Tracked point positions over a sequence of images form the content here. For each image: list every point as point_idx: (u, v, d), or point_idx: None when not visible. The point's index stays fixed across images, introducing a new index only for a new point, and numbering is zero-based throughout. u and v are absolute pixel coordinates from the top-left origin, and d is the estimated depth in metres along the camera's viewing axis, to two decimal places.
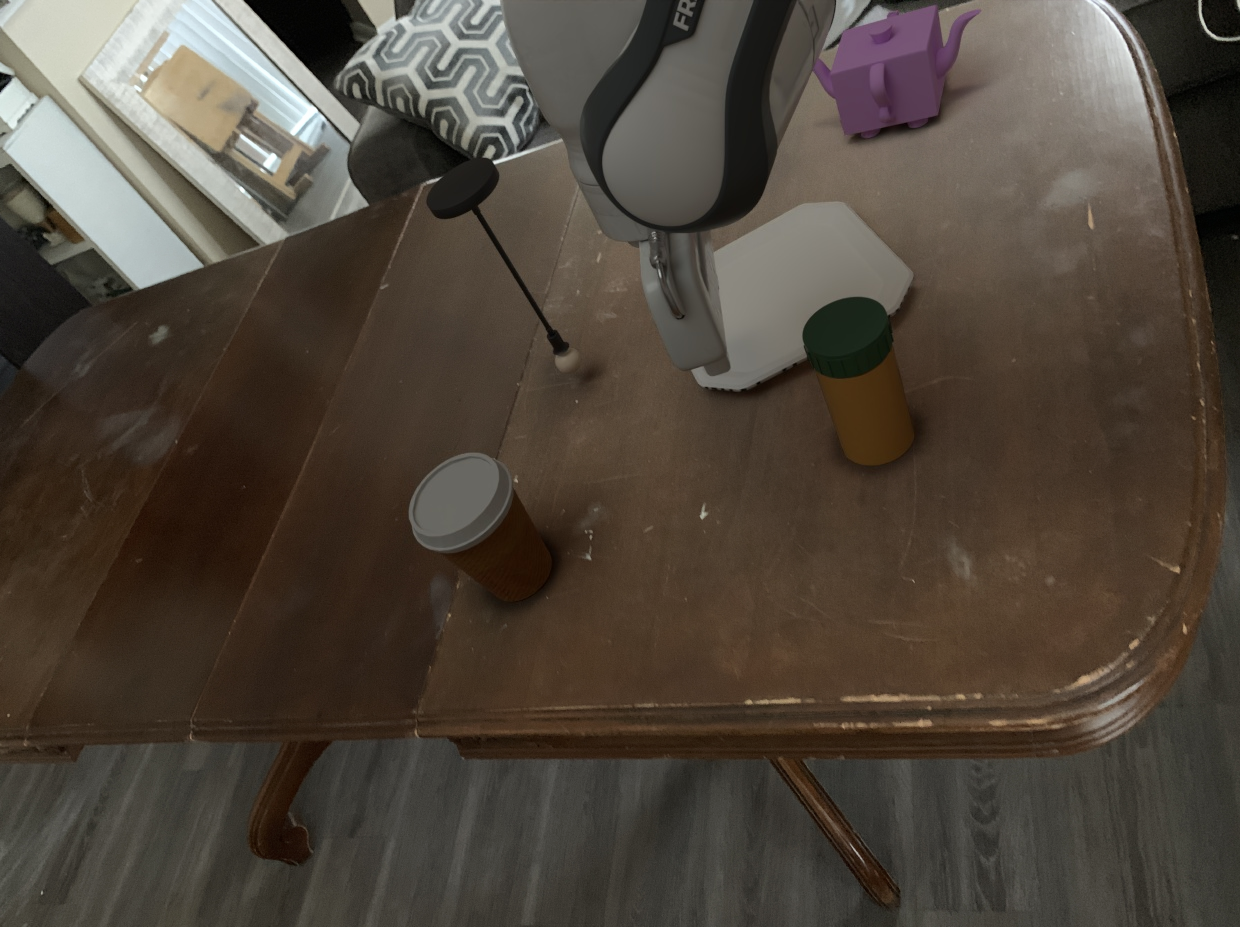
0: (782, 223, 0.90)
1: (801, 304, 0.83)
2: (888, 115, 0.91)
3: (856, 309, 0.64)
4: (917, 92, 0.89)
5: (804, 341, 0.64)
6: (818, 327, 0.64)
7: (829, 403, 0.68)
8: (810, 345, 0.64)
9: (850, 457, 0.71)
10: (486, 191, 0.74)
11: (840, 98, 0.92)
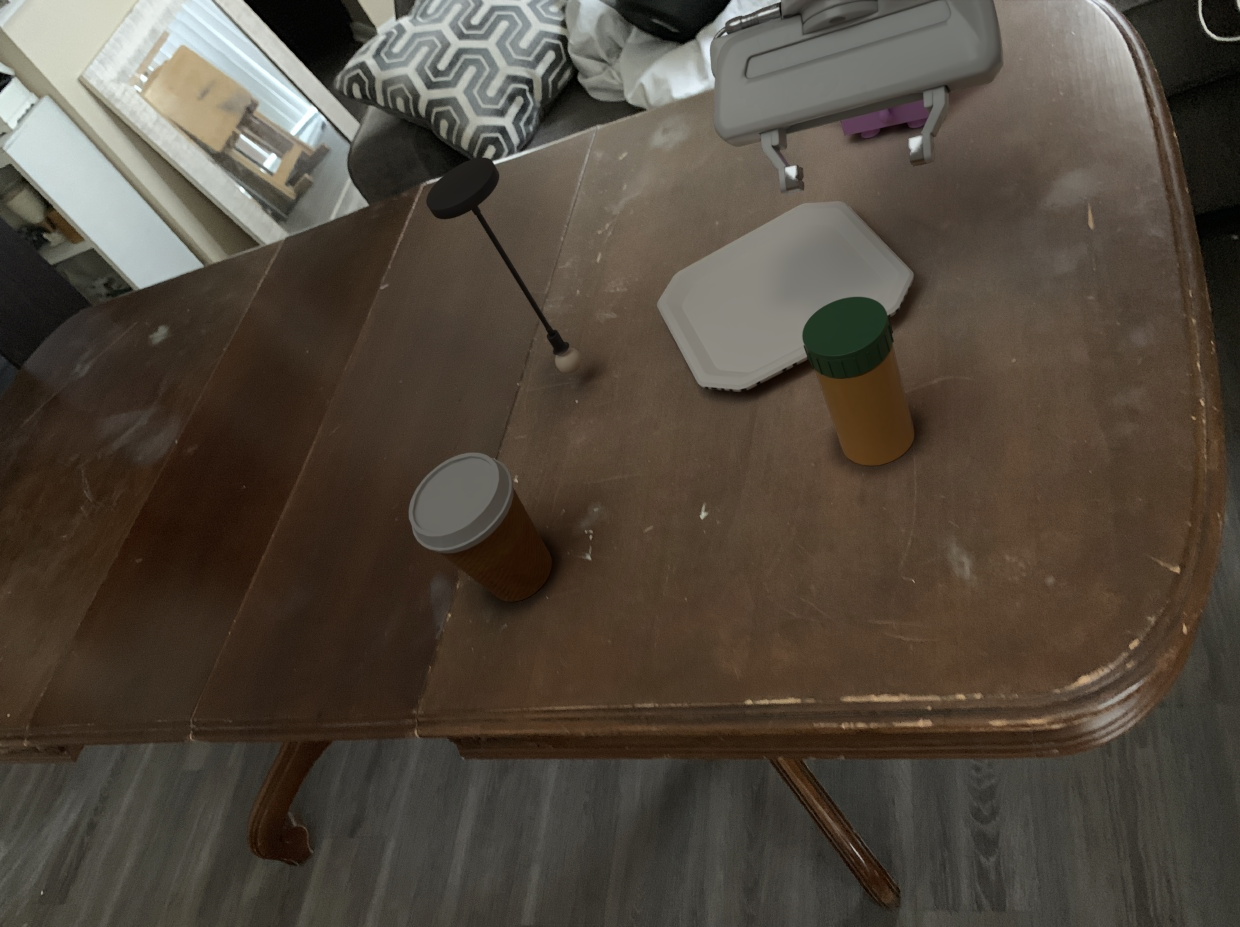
0: (782, 223, 0.90)
1: (801, 304, 0.83)
2: (888, 115, 0.91)
3: (856, 309, 0.64)
4: None
5: (804, 341, 0.64)
6: (818, 327, 0.64)
7: (829, 403, 0.68)
8: (810, 345, 0.64)
9: (850, 457, 0.71)
10: (486, 191, 0.74)
11: None
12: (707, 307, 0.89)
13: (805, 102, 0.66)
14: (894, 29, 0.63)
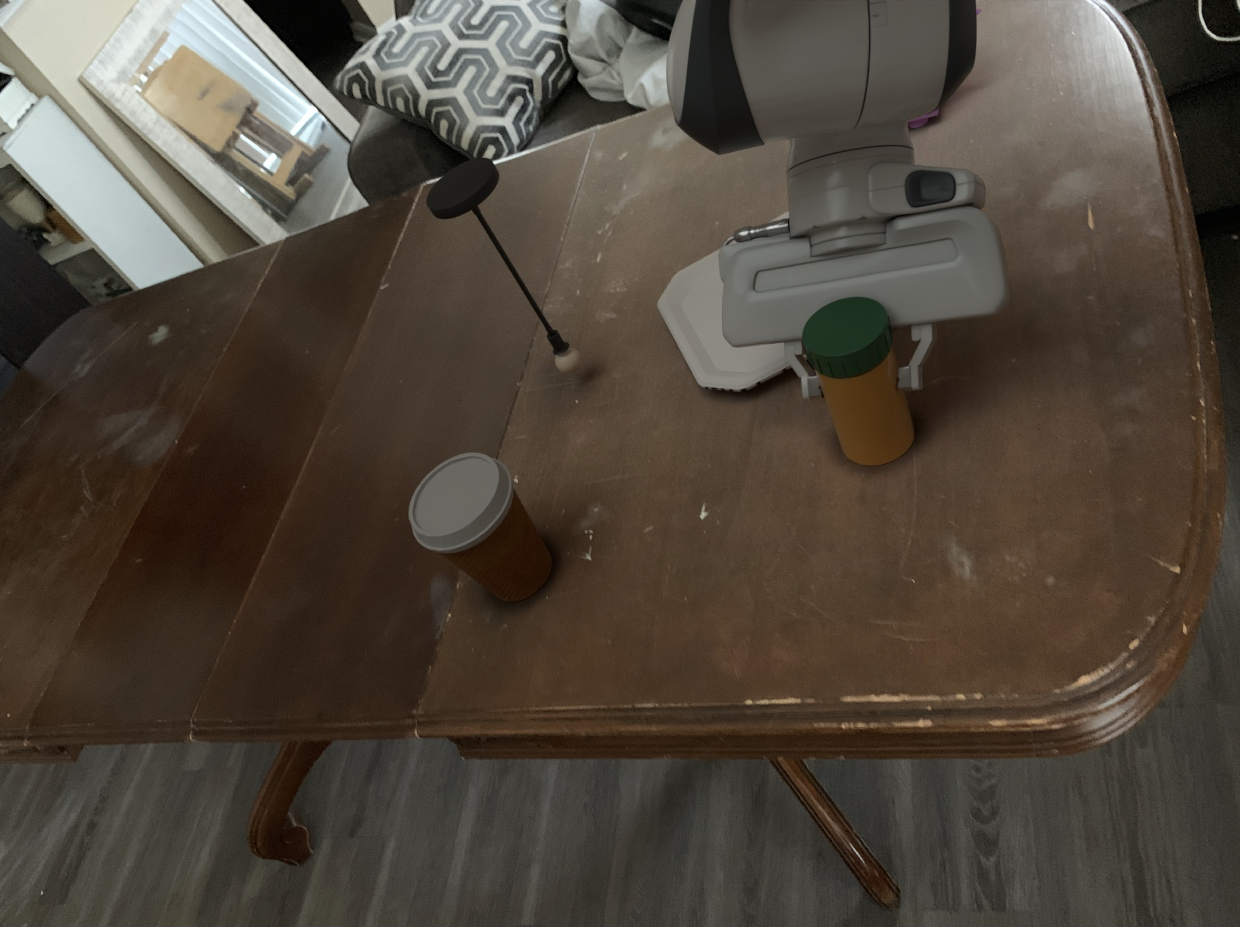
0: None
1: None
2: None
3: (856, 309, 0.64)
4: None
5: (804, 341, 0.64)
6: (818, 327, 0.64)
7: (828, 403, 0.68)
8: (810, 345, 0.64)
9: (850, 457, 0.71)
10: (486, 191, 0.74)
11: None
12: (707, 307, 0.89)
13: None
14: (901, 262, 0.63)
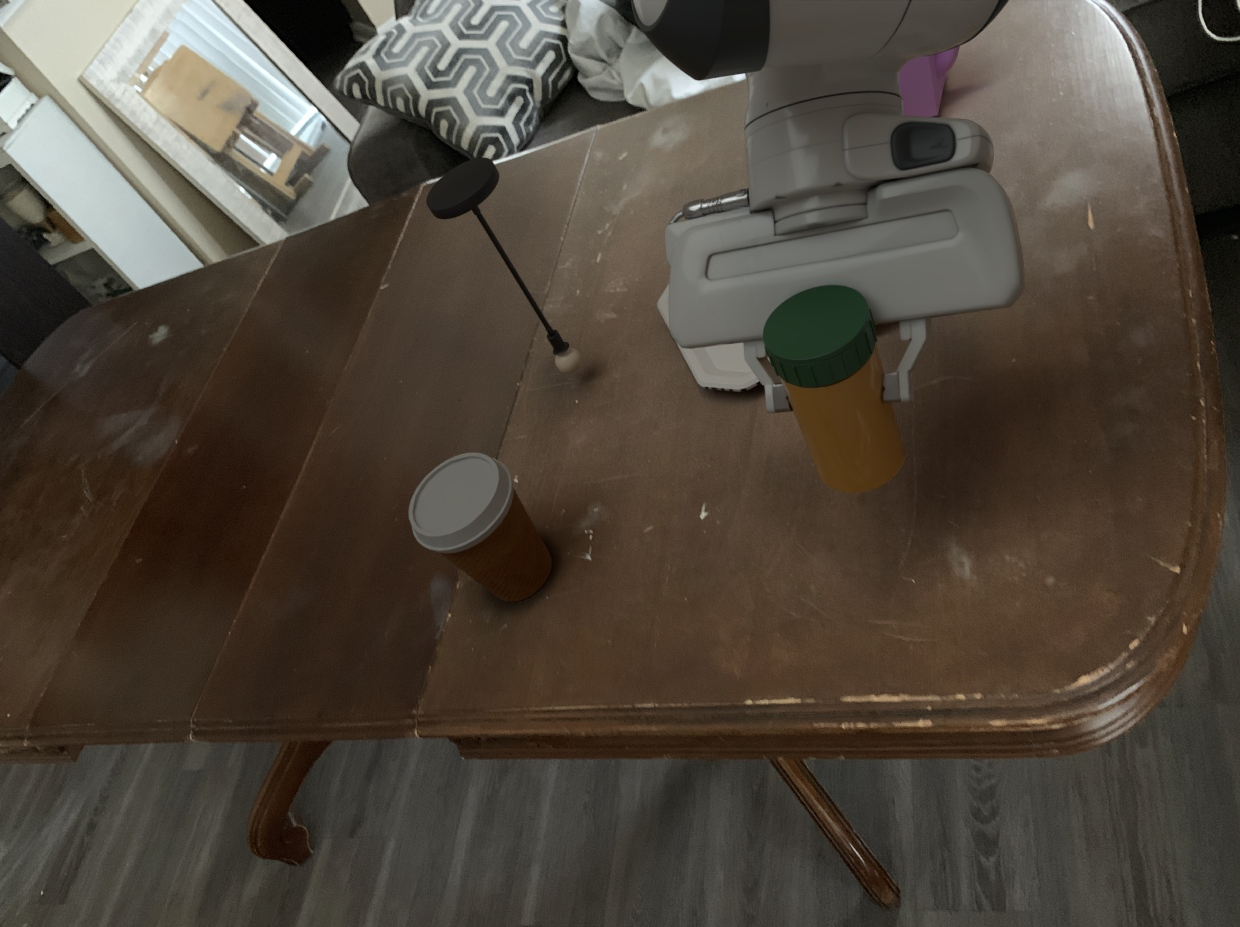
0: None
1: None
2: None
3: (830, 300, 0.51)
4: (917, 92, 0.89)
5: (765, 341, 0.51)
6: (782, 323, 0.51)
7: (798, 417, 0.54)
8: (772, 346, 0.51)
9: (827, 482, 0.58)
10: (486, 191, 0.74)
11: None
12: None
13: None
14: (887, 240, 0.50)
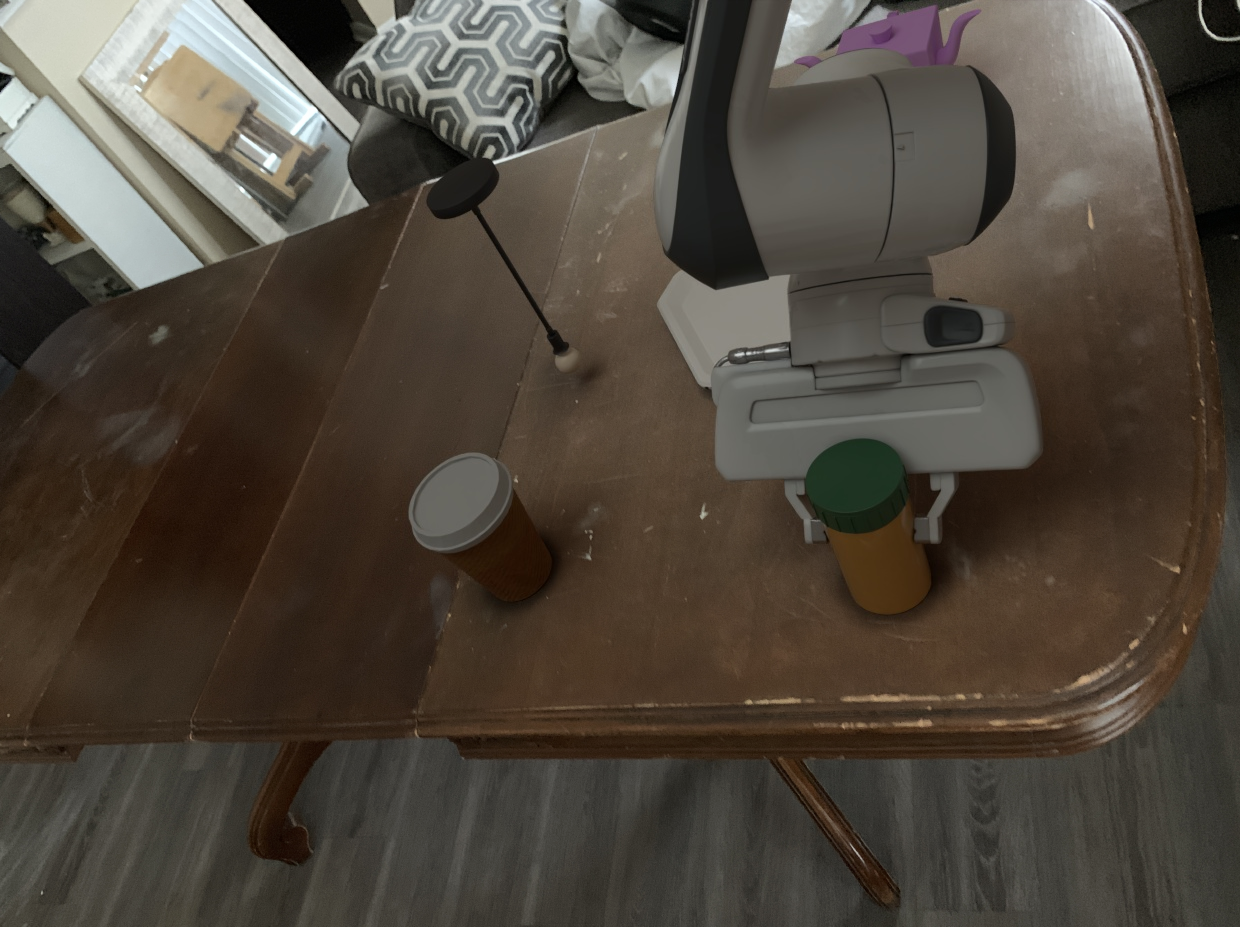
0: None
1: None
2: None
3: (867, 454, 0.56)
4: None
5: (807, 490, 0.56)
6: (823, 473, 0.56)
7: (835, 551, 0.60)
8: (814, 496, 0.56)
9: (859, 603, 0.64)
10: (486, 191, 0.74)
11: None
12: (707, 307, 0.89)
13: None
14: (919, 402, 0.55)
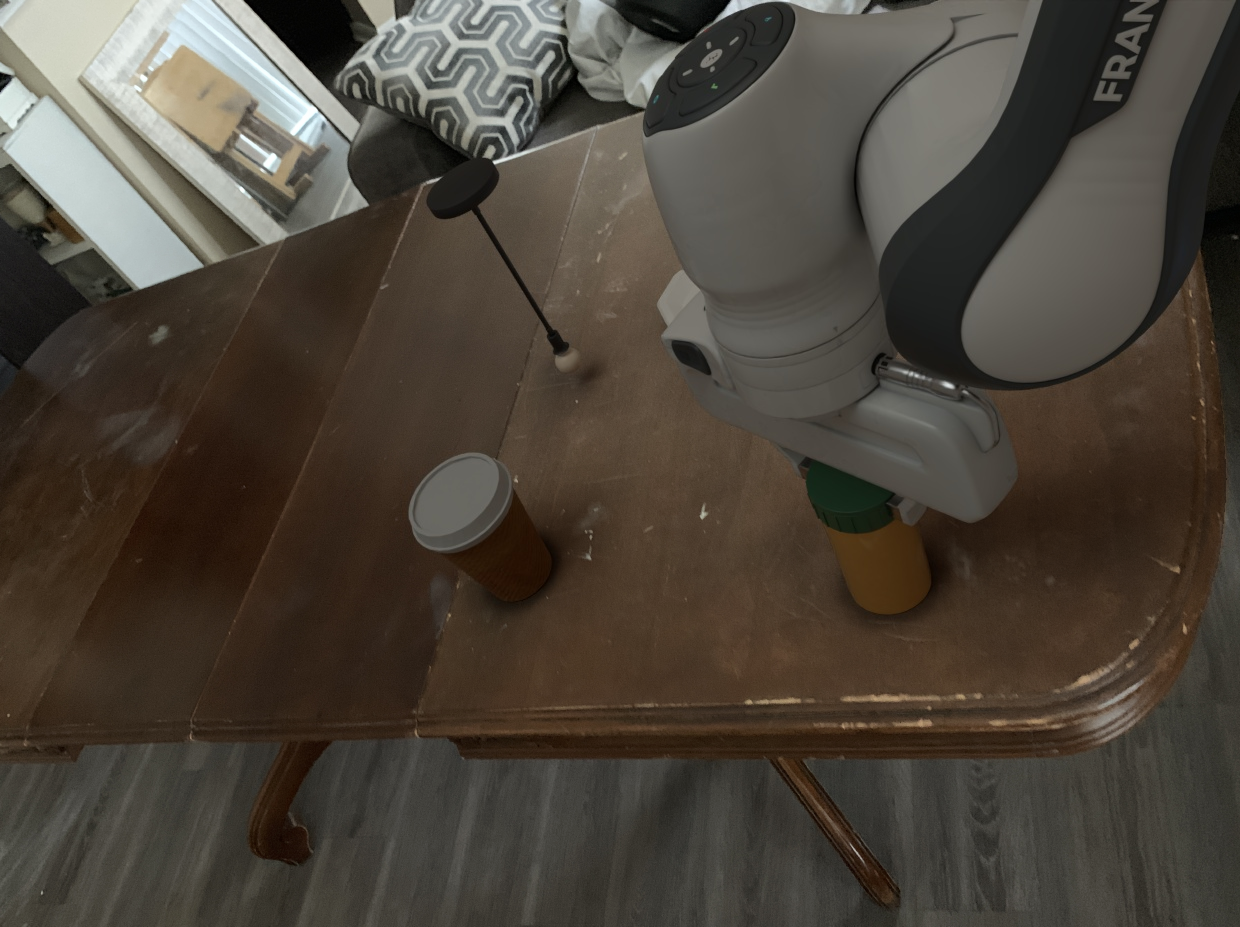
0: None
1: None
2: None
3: None
4: None
5: (808, 490, 0.56)
6: (824, 473, 0.56)
7: (835, 551, 0.60)
8: (815, 495, 0.56)
9: (859, 603, 0.64)
10: (486, 191, 0.74)
11: None
12: None
13: None
14: None
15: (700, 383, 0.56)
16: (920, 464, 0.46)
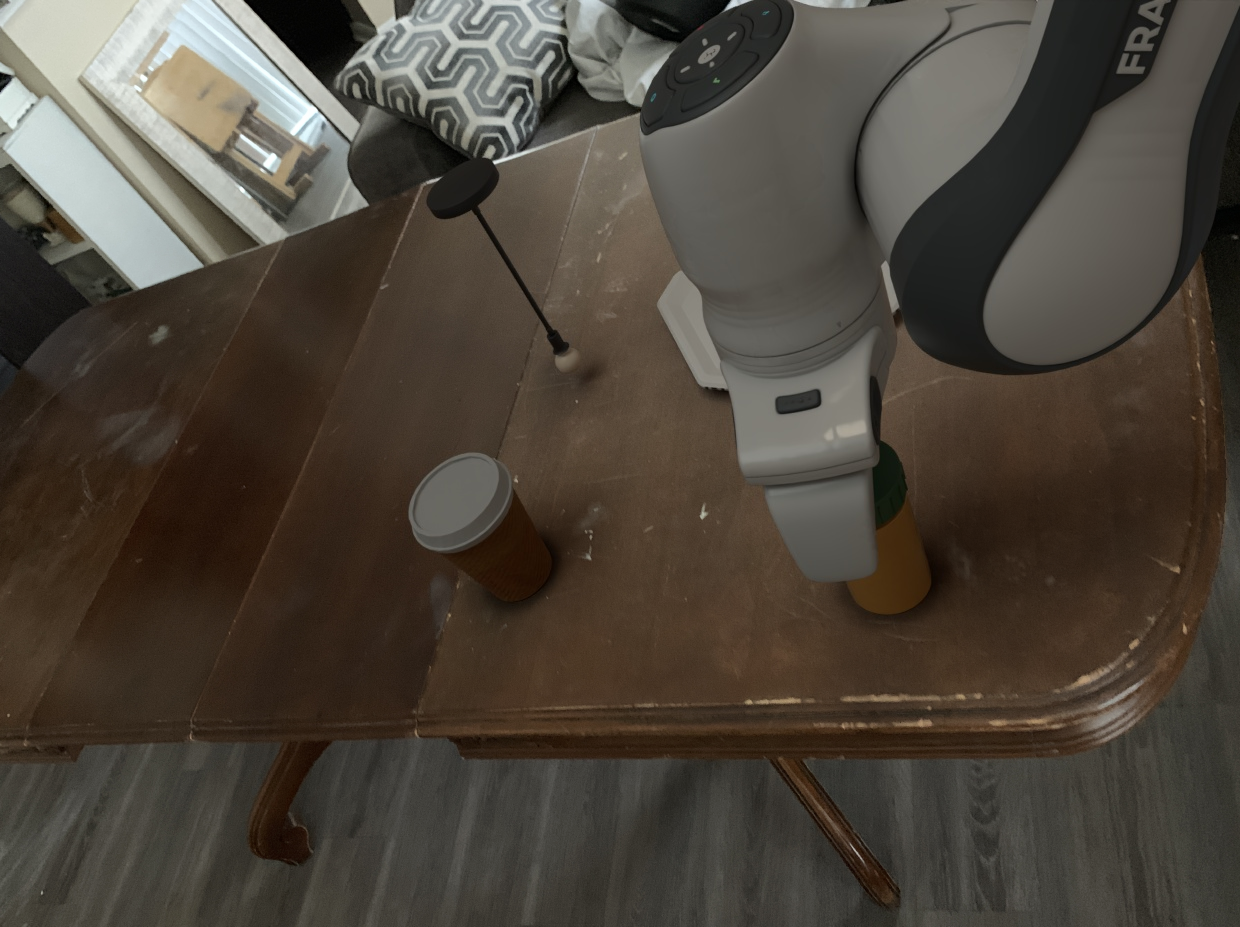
0: None
1: None
2: None
3: None
4: None
5: (889, 489, 0.53)
6: None
7: None
8: (892, 480, 0.54)
9: (859, 603, 0.64)
10: (486, 191, 0.74)
11: None
12: None
13: None
14: None
15: None
16: None
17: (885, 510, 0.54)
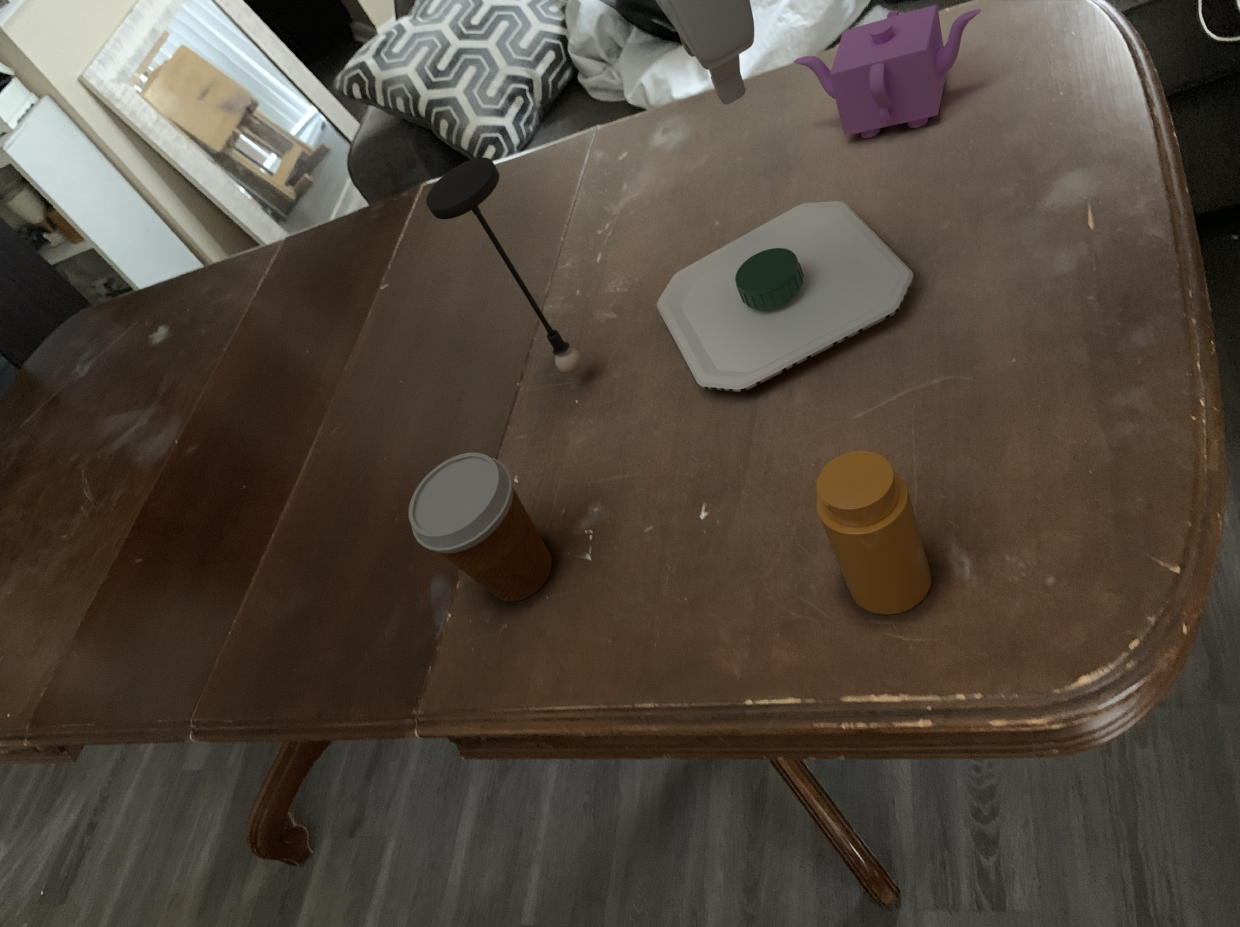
0: (782, 223, 0.90)
1: (800, 304, 0.83)
2: (888, 115, 0.91)
3: (748, 277, 0.84)
4: (917, 92, 0.89)
5: (793, 270, 0.81)
6: (777, 276, 0.82)
7: (835, 551, 0.60)
8: (793, 265, 0.82)
9: (859, 603, 0.64)
10: (486, 191, 0.74)
11: (840, 98, 0.92)
12: (706, 307, 0.89)
13: None
14: None
15: None
16: None
17: (792, 286, 0.82)
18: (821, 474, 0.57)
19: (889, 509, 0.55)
